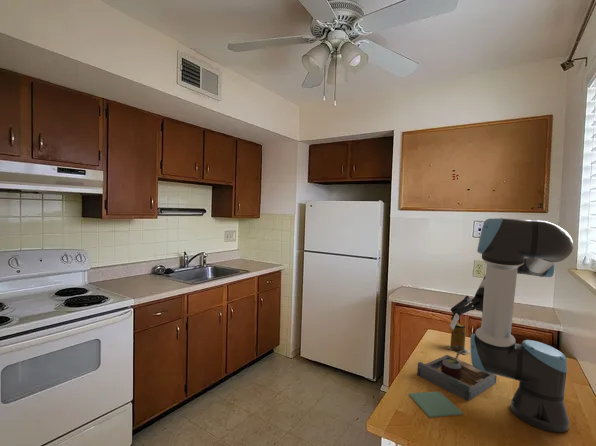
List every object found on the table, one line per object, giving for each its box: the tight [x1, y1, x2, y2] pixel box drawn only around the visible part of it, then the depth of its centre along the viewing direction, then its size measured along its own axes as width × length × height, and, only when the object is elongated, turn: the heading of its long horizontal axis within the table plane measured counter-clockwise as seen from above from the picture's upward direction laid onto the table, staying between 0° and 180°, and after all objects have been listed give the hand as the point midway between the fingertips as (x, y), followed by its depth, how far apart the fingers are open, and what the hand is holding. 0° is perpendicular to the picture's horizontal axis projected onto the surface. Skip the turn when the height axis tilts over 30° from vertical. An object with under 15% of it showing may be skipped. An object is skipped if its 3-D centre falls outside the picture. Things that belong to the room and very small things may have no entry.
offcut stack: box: [452, 356, 483, 385], centre depth 128 cm, size 14×4×5 cm, turn 29°
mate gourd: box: [440, 350, 465, 381], centre depth 122 cm, size 8×8×15 cm
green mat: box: [408, 390, 464, 418], centre depth 107 cm, size 12×12×1 cm
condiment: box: [446, 322, 471, 355], centre depth 152 cm, size 7×8×12 cm
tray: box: [416, 354, 498, 402], centre depth 125 cm, size 20×22×5 cm
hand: (467, 333), depth 128 cm, fingers open, 13 cm apart
